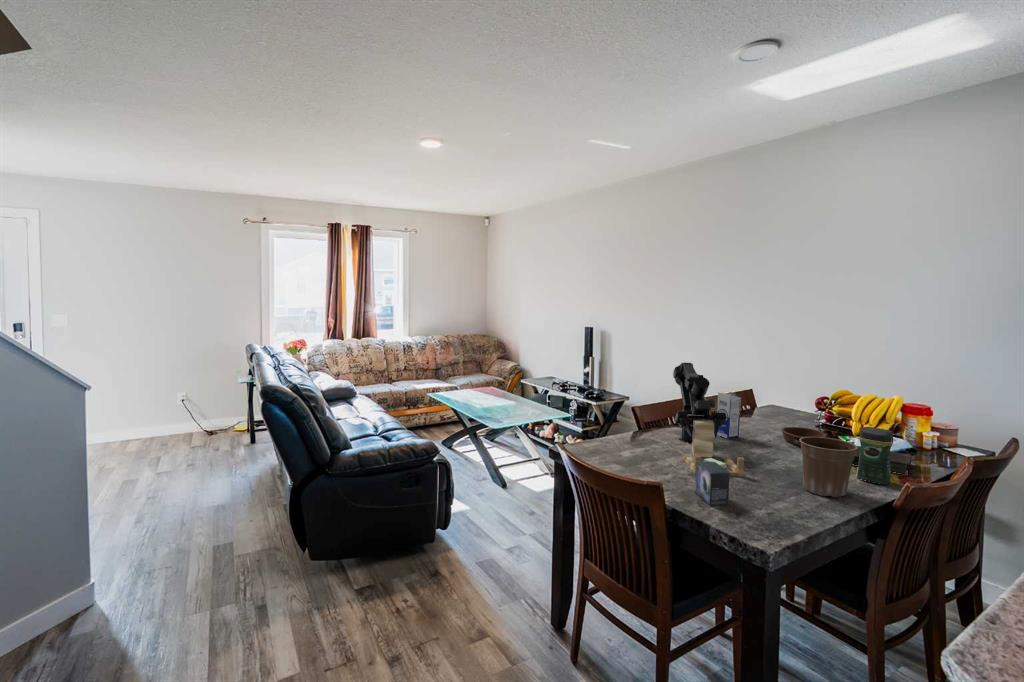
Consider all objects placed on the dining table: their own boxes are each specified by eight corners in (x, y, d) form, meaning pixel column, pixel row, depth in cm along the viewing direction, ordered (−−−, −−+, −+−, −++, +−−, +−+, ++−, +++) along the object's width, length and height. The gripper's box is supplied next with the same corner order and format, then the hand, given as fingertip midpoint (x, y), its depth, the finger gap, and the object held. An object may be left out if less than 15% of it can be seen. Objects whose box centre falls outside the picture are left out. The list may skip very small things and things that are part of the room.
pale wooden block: (691, 455, 209) (693, 420, 208) (709, 456, 209) (711, 421, 207) (693, 458, 206) (695, 422, 204) (712, 458, 205) (714, 423, 204)
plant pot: (809, 478, 185) (812, 433, 183) (861, 492, 172) (865, 444, 170) (787, 489, 174) (790, 441, 173) (841, 504, 162) (845, 453, 160)
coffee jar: (892, 482, 182) (897, 429, 181) (886, 487, 177) (890, 433, 175) (860, 474, 190) (864, 423, 188) (853, 479, 184) (857, 427, 183)
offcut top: (710, 462, 194) (710, 457, 193) (725, 468, 187) (726, 463, 187) (703, 463, 192) (703, 459, 192) (718, 469, 186) (719, 464, 186)
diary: (834, 452, 218) (835, 440, 218) (910, 466, 202) (911, 453, 202) (826, 462, 204) (827, 450, 203) (907, 478, 188) (909, 464, 188)
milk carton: (715, 435, 239) (717, 391, 237) (726, 433, 242) (728, 390, 240) (727, 439, 233) (730, 394, 231) (739, 437, 235) (741, 393, 233)
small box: (693, 492, 170) (695, 461, 169) (713, 492, 171) (714, 460, 170) (708, 506, 160) (710, 472, 159) (729, 505, 160) (731, 472, 159)
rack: (683, 460, 202) (684, 443, 201) (728, 462, 200) (729, 444, 200) (694, 476, 185) (695, 456, 184) (743, 478, 183) (744, 459, 183)
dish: (776, 445, 226) (777, 433, 225) (783, 434, 244) (784, 423, 243) (823, 452, 216) (824, 440, 215) (827, 440, 234) (828, 429, 233)
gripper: (678, 390, 210) (682, 425, 200) (726, 392, 208) (734, 427, 198) (673, 405, 218) (677, 439, 209) (720, 407, 217) (726, 441, 207)
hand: (703, 436), depth 205 cm, fingers open, 9 cm apart
